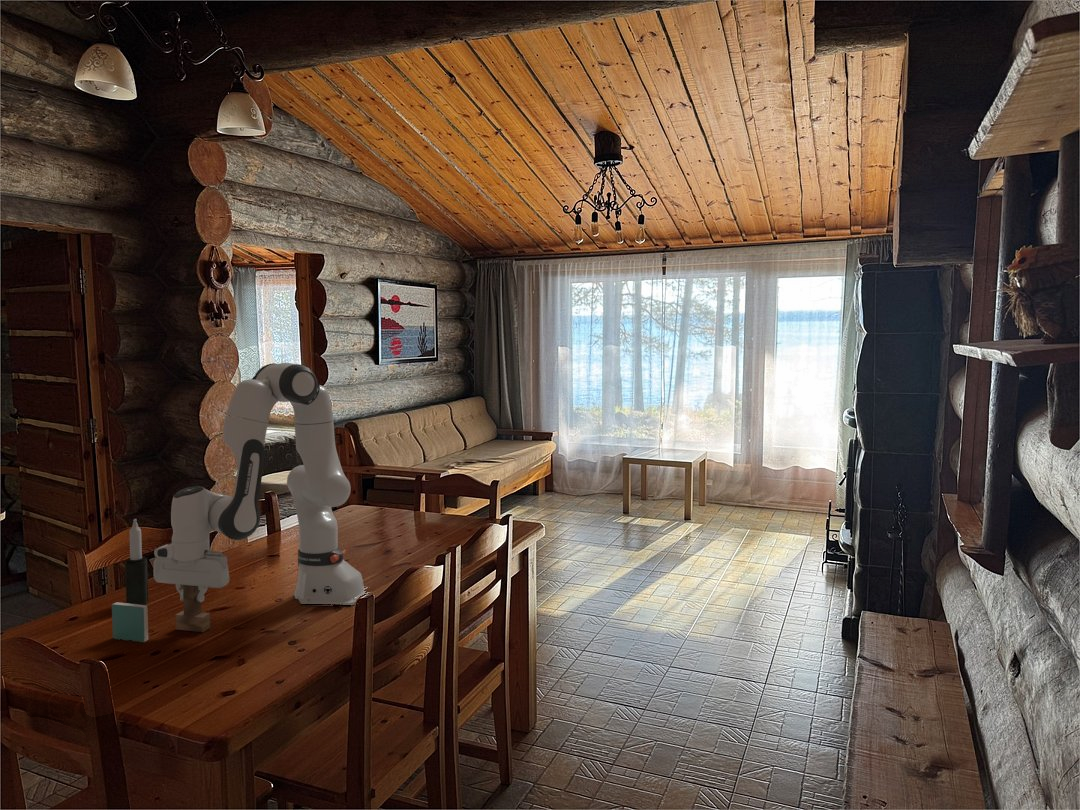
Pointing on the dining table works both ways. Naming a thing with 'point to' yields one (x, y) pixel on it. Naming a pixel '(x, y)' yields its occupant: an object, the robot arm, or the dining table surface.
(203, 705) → the dining table surface
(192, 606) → the grey t-shaped post
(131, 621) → the tile
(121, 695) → the dining table surface
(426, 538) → the dining table surface
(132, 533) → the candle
